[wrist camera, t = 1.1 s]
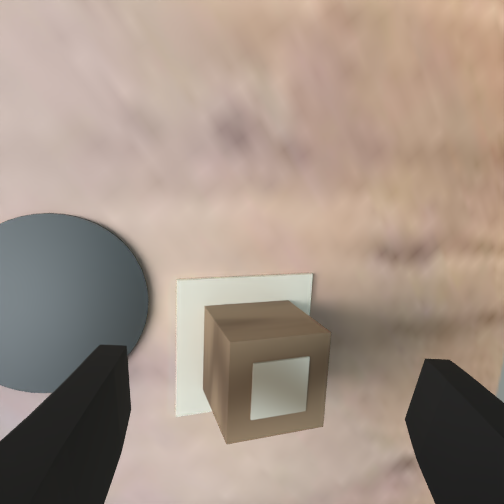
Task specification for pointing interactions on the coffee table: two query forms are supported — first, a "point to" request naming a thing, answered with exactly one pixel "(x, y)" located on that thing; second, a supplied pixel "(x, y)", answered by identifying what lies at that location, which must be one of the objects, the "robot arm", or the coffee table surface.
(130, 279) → the slate coaster
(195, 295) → the tile
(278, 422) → the walnut block
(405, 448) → the coffee table surface
